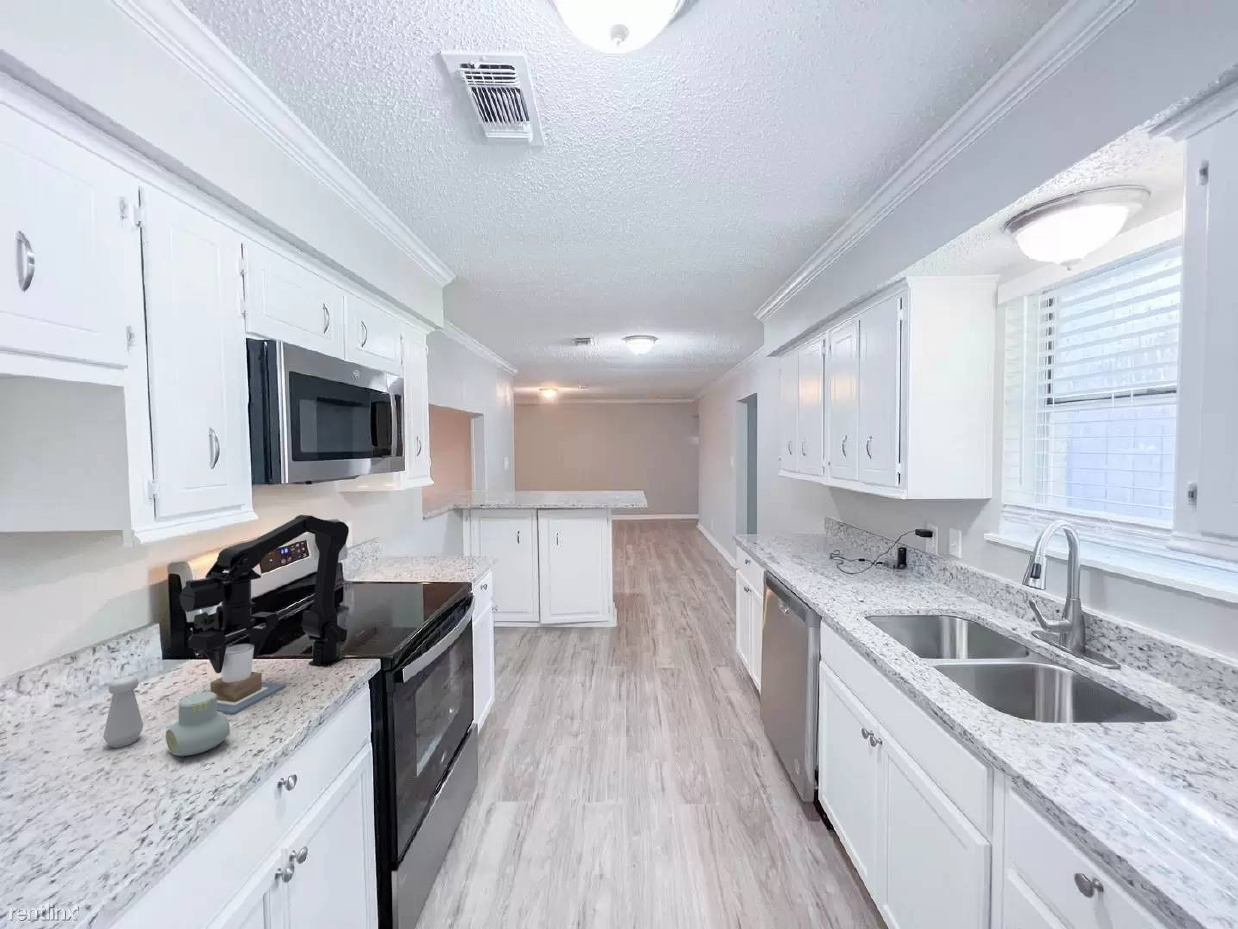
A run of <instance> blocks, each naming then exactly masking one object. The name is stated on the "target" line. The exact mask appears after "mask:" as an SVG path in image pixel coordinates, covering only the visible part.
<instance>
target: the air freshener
mask: <svg viewBox="0 0 1238 929" xmlns="http://www.w3.org/2000/svg"><path fill="white" fill-rule="evenodd" d="M230 727H231V726H230V722H229V720H228V718H227V716H226V715H225V713H222V712H217V695H216V694H215V693H213V692H210V691H202V692H197V693H192V694H191V695H188V696H186V697H184V698H183V699H181V700H180V701H179V703H178V721H176V722H175V723H173V724H172V725H171V726H170V727H168V729H167V730H166V732H165V741H166V745H167V748H168V750H169V751H170V753H171V754H172V755H174V756H178V757H179V756H181V757H187V756H193V755H194V756H195V755H197V754H203V753H205V752H207V751H210V750H211V749H213V748H215V747H217V746H218V745H220V744H221V743H222V742H224V740H226V739H227V737H228V736H229V734H230V733H231V732H230V731H231V728H230Z"/></svg>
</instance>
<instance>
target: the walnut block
mask: <svg viewBox="0 0 1238 929" xmlns="http://www.w3.org/2000/svg"><path fill="white" fill-rule="evenodd" d="M262 674H263V673H262V672H255V671H251V676H250V677H249V678H247V679H244V680H241V681H237V682H230V683H227V682H223V681H222V676H221V677H219V678H217V679H215V680H213V681H210V682H209V683H210V684H209V685H210V690H209V692H213V693H215V694H216V695H217V700H220V701H228V702H237V701H239V700H241V699H243V698H245V697H247V696H249V695H251V694H253V693H255V692H257V691H259V690H261V689H262V682H263V681H262V680H263V678H262V677H263V675H262Z"/></svg>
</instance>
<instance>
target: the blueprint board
mask: <svg viewBox="0 0 1238 929" xmlns="http://www.w3.org/2000/svg"><path fill="white" fill-rule="evenodd" d="M286 685H287V684H282V683H281V684H280V683H272V682H267V681H266V682H265V681H262V689H261V690H259V691H257V692H255V693H253V694H251V695H249V696H247V697H245V698H243V699H241V700H239V701H237V702H228V701H220V700H217V712H222V713H223V714H224V715H225V714H227V715H236V714H238V713H239V711H240V712H241V711H244V710H245V709H247V708H250V705H251V706H253V705H254V704H256V703H258V702H260V701H262V700H264V699H266V698H268V697H270V696H271V695H273V694H275V693H277V692H279V691H281V690H283V689H284V688H286V687H287V686H286Z"/></svg>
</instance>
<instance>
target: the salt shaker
mask: <svg viewBox="0 0 1238 929" xmlns="http://www.w3.org/2000/svg"><path fill="white" fill-rule="evenodd" d="M138 686H139V679H138V677H136V676H134V675H127V676H122V677H118V678H115V679H114V680H112V681H111V682H109V685H108V693H109V694H111V695H112V696H111V702H110V706H109V710H108V714H107V718H106V724H105V728H104V731H103V736H102V737H103V739H104V741H105V742H106V743H107V745H108V746H109V747H110V748H113V749H119V748H123V747H127V746H130V745H131V744H130V743H132V742H133V743H135V742H137V741H138V740H139V738H140V735H141V733H142V731H143V729H144V728H143V727H144V722H143V718H142V715H141V712H140V709H139V704H138V701H137V696H136V694H135V689H137V688H138ZM136 740H137V741H136ZM133 743H132V744H133ZM129 744H130V745H129Z"/></svg>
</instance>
